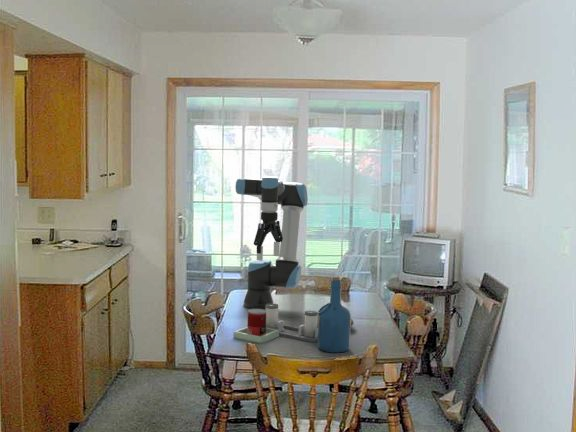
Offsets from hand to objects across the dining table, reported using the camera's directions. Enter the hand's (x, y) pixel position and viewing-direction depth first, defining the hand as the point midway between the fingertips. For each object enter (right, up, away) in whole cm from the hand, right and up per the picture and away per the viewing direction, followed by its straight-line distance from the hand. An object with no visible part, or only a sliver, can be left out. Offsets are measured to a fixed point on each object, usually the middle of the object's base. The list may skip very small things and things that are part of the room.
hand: (268, 258), depth 311 cm
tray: (-5, -33, -16) cm, 37 cm away
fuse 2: (+19, -33, -13) cm, 40 cm away
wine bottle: (+27, -36, -29) cm, 53 cm away
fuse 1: (+2, -32, -2) cm, 32 cm away
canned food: (-5, -32, -16) cm, 36 cm away
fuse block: (+10, -33, -8) cm, 35 cm away
